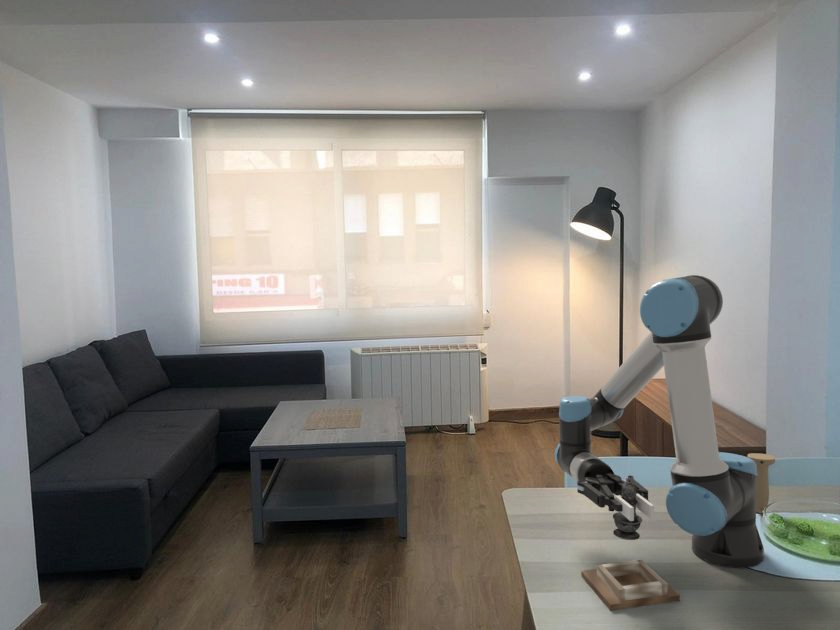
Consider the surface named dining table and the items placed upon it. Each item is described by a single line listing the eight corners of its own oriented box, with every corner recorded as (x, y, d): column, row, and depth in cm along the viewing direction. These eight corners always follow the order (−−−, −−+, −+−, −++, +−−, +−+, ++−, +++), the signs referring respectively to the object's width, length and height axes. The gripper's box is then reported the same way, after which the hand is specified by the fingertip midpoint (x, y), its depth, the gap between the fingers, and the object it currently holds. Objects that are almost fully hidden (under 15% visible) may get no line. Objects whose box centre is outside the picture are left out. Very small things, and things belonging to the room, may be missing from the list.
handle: (774, 516, 172) (775, 460, 170) (746, 513, 174) (747, 458, 172) (772, 509, 176) (774, 454, 174) (745, 506, 179) (746, 452, 177)
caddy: (645, 567, 148) (645, 552, 148) (679, 600, 135) (680, 584, 134) (581, 576, 146) (581, 560, 145) (610, 610, 132) (610, 593, 132)
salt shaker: (618, 525, 142) (621, 471, 141) (645, 534, 139) (649, 478, 137) (607, 534, 138) (610, 478, 137) (634, 543, 134) (638, 485, 133)
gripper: (625, 485, 157) (680, 526, 134) (558, 492, 154) (602, 536, 131) (625, 454, 156) (680, 490, 133) (557, 461, 153) (602, 499, 130)
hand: (642, 513), depth 132 cm, fingers closed on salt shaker, 4 cm apart
